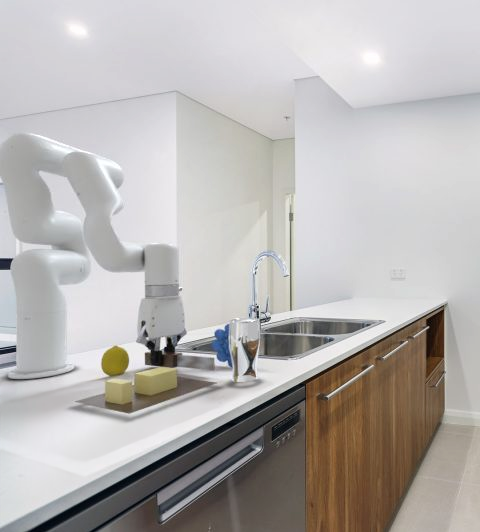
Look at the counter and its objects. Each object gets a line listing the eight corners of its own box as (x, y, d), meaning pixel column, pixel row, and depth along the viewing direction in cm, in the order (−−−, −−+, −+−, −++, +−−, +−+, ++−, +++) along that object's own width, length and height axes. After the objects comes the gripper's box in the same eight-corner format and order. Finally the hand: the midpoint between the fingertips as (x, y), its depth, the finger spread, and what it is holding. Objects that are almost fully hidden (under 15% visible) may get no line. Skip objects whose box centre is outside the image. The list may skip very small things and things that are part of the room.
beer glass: (223, 383, 93) (223, 319, 93) (251, 377, 98) (251, 316, 98) (236, 389, 88) (236, 322, 88) (265, 383, 94) (265, 319, 93)
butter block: (134, 392, 83) (134, 373, 83) (160, 384, 88) (160, 366, 88) (150, 395, 81) (150, 376, 81) (177, 387, 86) (177, 368, 86)
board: (74, 407, 77) (74, 401, 77) (168, 379, 96) (168, 374, 96) (129, 420, 71) (129, 413, 71) (218, 387, 90) (218, 382, 90)
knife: (144, 365, 101) (144, 352, 101) (155, 362, 104) (154, 350, 104) (209, 371, 93) (208, 358, 93) (218, 368, 96) (218, 355, 96)
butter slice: (104, 401, 77) (104, 381, 77) (115, 398, 79) (115, 378, 79) (122, 405, 75) (122, 384, 75) (132, 401, 77) (132, 381, 77)
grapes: (208, 373, 101) (208, 326, 101) (212, 367, 108) (212, 323, 107) (257, 370, 105) (257, 324, 105) (257, 364, 111) (257, 321, 111)
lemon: (114, 382, 94) (114, 348, 94) (95, 380, 95) (95, 347, 95) (134, 375, 99) (134, 343, 99) (116, 374, 100) (116, 342, 100)
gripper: (180, 289, 110) (180, 356, 110) (119, 294, 95) (120, 370, 95) (200, 290, 107) (201, 358, 107) (141, 294, 92) (142, 374, 92)
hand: (163, 363), depth 101 cm, fingers closed on knife, 2 cm apart
